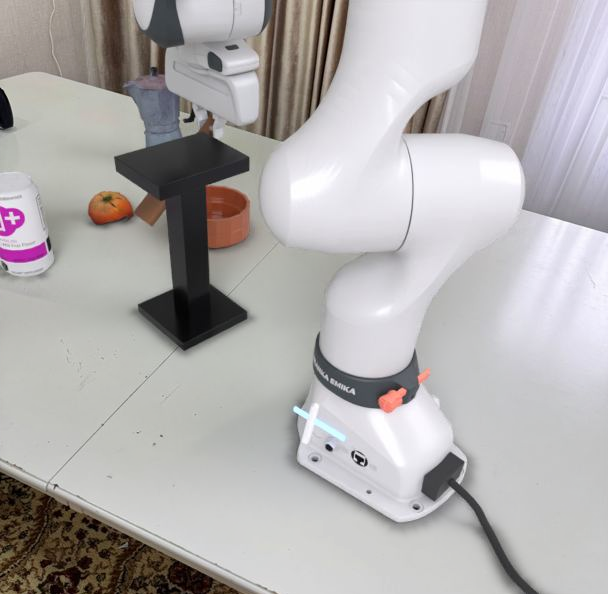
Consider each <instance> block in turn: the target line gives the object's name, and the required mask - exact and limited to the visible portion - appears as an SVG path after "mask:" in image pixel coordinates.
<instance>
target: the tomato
mask: <svg viewBox="0 0 608 594" xmlns="http://www.w3.org/2000/svg"><path fill="white" fill-rule="evenodd" d="M87 207H88V208H87V213H88V214H87V215H88V216H89V218H90V219H91V221H92V222H93V223H94V224H95V225H96V226H98V225H103V224H106V223H109V222H116V221H119V220H120V219H123V218H124V217H128V218H127V220H126V222H128V221H129V220H131V219H132V217H133V216H134V213H133V212H134V209H133V205H132V203H131V201H130V200H129V199H128V198H127V196H125V195H124V194H122V193H121V192H119V191H114V190H113V191H112V190H108V191H106V190H103V191H100V192H98V193H96V194H95V195H94V196H92V198H91V199H90V201H89V203H88V206H87Z"/></svg>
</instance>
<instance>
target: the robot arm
mask: <svg viewBox="0 0 608 594" xmlns="http://www.w3.org/2000/svg"><path fill="white" fill-rule="evenodd" d="M131 3H132V4H131V5H132V11H133V16H134V19H135V22H136V25H137V27H138V28H139V30H140V31H141V32H142V33H143V34H144V35H145V36H146V37H147V38H148V39H150V40H151V41H152V42H153V43H154V44H156V45H157V46H159V47H161V48H162V49H166V50H165V53H164V54H165V56H164V75H165V82H166V85H167V87H168V90H169V91H171V92H173V93H175V94H177V95H179V96H180V98H183V99H185V100H186V101H188V102H191V109H192V108H193V111H194V113H195V119H196V120H197V129H198V131H199V130H200V129H201V127H202V126H203V125H204V123H205V122H206V121H207V119H208V118H209V114H208V112H210V113H211V114H212V113H213V119H215V121H214V124H213V126H209V128H210V136H212V137H214V138H216V139H218V140H219V139H220V140H221V139H222V138H223V137H224V135H225V133H224V128H225V125H226V124H227V122H229V123H231V124H233V125H235V126H237V127H245V126H247V125H251V124H254V123H255V122H256V121H257V119H258V117H259V113H260V83H259V82H260V81H259V78H258V75H257V73H256V71H255V70H257V69H258V68H259V67H260V56H259V54H258V53H257V51H255V50H254V49H253V48H252V46H250V45H249V44H248V43H247V42H246V41H245V40H244V39H251V38H254V37H259V36H260V35H261V34H262V33H263V31H265V29H266V28H267V26H268V24H269V23H270V20H271V17H272V13H273V8H274V7H273V6H274V0H131ZM487 5H488V0H348V8H347V16H346V23H345V30H344V35H343V43H342V48H341V53H340V58H339V62H338V65H337V67H336V70H335V73H334V76H333V77H332V81H331V83H330V84H329V87H328V89H327V90H326V93H325V94H324V96H323V98H322V100H321V101H320V103H319V104H318V106H317V107H316V109H314V111H313V113H311V115H310V116H309V118H308V119H307V120H306V121H305V122H304V123H303V124H302V125H301V126H300V127H299V128H298V129H297V130H296V131H295V132H294V133H292V134H291V135H290V136H288V137H286V139H285V140H283V141H282V142H279V144H278V145H277V146H276V147H275V148H274V149H273V151H272V152H271V153H270V155H269V156H268V157H267V160H266V161H265V163H264V164H263V167H262V170H261V173H260V177H259V181H258V188H257V189H258V190H257V198H258V199H257V200H258V206H259V210H260V214H261V217H262V219H263V223H264V224H265V226H266V228H267V230H268V231H269V233H270V234H271V235H272V237H274V239H275V240H276V241H277V242H278V243H279V244H281V245H282V246H283V247H285V248H290V249H296V250H300V251H301V250H302V251H307V252H313V253H320V254H327V255H334V254H335V255H336V254H356V253H359V254H360V253H363V254H361V255H359V256H357V257H355V258H354V259H352V260H350V261H349V262H346V263H345V264H343V265H342V266H341V267H340V268H339V269H338V270H337V271H335V272H334V274H333V275H332V277H331V278H330V280H329V281H328V283H327V285H326V287H325V289H324V293H323V301H322V311H321V319H320V328H319V331H318V333H317V335H316V337H315V343H314V347H313V353H312V369H313V375H312V380H311V384H310V387H309V390H308V394H307V397H306V398H305V401H304V403H303V405H302V406H301V408H299V407H298V406H296V405H295V406H294V407H293V412H294V413H296V414H298V416H297V420H296V421H297V424H296V425H297V431H298V432H297V433H298V436H299V445H298V448H297V452H296V461H297V463H298V464H300V465H301V466H302V467H304V468H306V469H307V470H309V471H310V472H312V473H313V474H316V475H317V476H319V477H320V478H322V479H324V480H326V481H327V482H329V483H330V484H332V485H334V486H336V487H338V488H339V489H340V490H342V491H344V492H345V493H347V494H348V495H350V496H352V497H354V498H355V499H356V500H359V501H361V502H362V503H364V504H365V505H367V506H369V507H370V508H372V509H374V510H375V511H377V512H378V513H380V514H381V515H383V516H385V517H387V518H388V519H390V520H391V521H393V522H396V523H407V522H412V521H416V520H419V519H421V518H423V517H426V516H428V515H429V514H431V513H433V512H434V511H435V510H437V509H438V508H440V506H442V505H443V504H445V502H447V500H449V498H451V497H452V495H454V493H457V494H458V495H459V496H460V497H461V498H462V499H463V500H464V501H465V502H466V503H467V504H468V505H469V506H470V508H471V510H473V512H474V514H475V515H476V517H477V519H478V522H479V524H480V526H481V527H482V529H483V531H484V532H485V533H484V534H485V535H486V536H487V539H488V540H489V543H490V544H491V546H492V549H493V550H494V553H495V555H496V557H497V558H498V561H499V562H500V564H501V565H502V567H503V569H504V571H505V572H506V573H507V575H508V577H510V578H511V580H512V581H513V582H514V583H515V584H516V585H517V586H518V588H520V589H521V590H522V592H524V593H525V594H540V593H539V592H538V591H537V590H535V589H534V588H533V587H532V586H531V585H530V584H528V583H527V581H525V579H523V577H522V576H521V575H520V573H518V571H517V570H516V569H515V567H514V566H513V565H512V563H511V561H510V559H509V558H508V556H507V555H506V553H505V551H504V548H503V546H502V544H501V542H500V541H499V538H498V537H497V535H496V533H495V531H494V530H493V527H492V526H491V524H490V522H489V520H488V518H487V516H486V514H485V512H484V510H483V508H482V507H481V505H480V504H479V503H478V502H477V500H476V498H474V497H473V496H472V495H471V494H470V493H469V492H468V491H467V490H466V489H465V487H463V486H462V485H461V483H462V482H463V480H464V477H465V474H466V471H467V465H468V457H467V456H466V454H465V453H464V452H463V451H462V450H461V449H460V448H459V447H458V446H457V445H456V444H455V443H454V439H455V437H454V436H455V435H454V430H453V426H452V424H451V422H450V421H449V419H448V418H447V416H446V415H445V414H444V413H443V411H442V410H441V401H440V399H439V397H438V396H437V395H436V394H434V393H430V392H429V391H428V389H427V388H426V386H425V385H424V383H423V382H425V381H426V380H427V379H428V377H429V376H430V372H431V370H432V369H431V368H430V367H429V368H427V369H426V370H424V371H423V372H421V373H420V367H419V360H418V355H417V350H416V344H417V341H418V337H419V334H420V330H421V328H422V324H423V321H424V318H425V315H426V312H427V310H428V308H429V306H430V304H431V302H432V301H433V299H434V297H435V296H436V294H437V293H438V292H439V290H440V289H441V287H442V286H443V285H444V284H445V283H446V282H447V280H448V279H449V278H450V277H451V276H452V275H453V274H454V273H455V272H456V271H457V270H458V269H459V268H460V267H461V266H462V265H463V264H464V263H465V262H466V261H468V260H469V259H470V258H471V257H473V256H474V255H475V254H476V253H478V252H479V251H481V250H482V249H484V248H485V247H486V246H489V245H490V244H492V243H494V242H496V241H498V240H500V239H502V238H503V237H504V236H506V235H507V234H508V233H509V231H511V229H512V228H513V227H514V225H515V223H516V222H517V220H518V218H519V216H520V214H521V212H522V209H523V206H524V203H525V202H524V201H525V198H526V177H525V172H524V169H523V166H522V164H521V161H520V159H519V157H518V155H517V154H516V152H515V151H514V150H513V148H512V147H511V146H510V145H508V143H505V142H501V141H499V140H494V139H490V138H487V137H481V136H476V135H472V134H467V133H461V132H460V133H459V132H452V133H451V132H449V133H447V132H446V133H445V132H444V133H439V132H437V133H433V132H431V133H429V132H427V133H425V132H424V133H404V130H405V129H406V127H407V125H408V123H409V121H410V120H411V118H413V116H414V114H415V113H416V112H418V110H419V109H420V108H421V107H422V106H423V105H424V104H425V103H427V102H428V101H430V100H431V99H433V98H435V97H436V96H439V95H441V94H442V93H445V92H447V91H448V90H450V89H452V88H453V87H455V86H456V85H457V84H459V83H460V82H461V81H462V80H463V79H464V78H465V77H466V75H467V74H468V73H469V72H470V70H471V68H472V67H473V65H474V64H475V61H476V59H477V57H478V54H479V49H480V43H481V39H482V38H481V37H482V32H483V27H484V22H485V15H486V11H487ZM415 508H416V509H415Z"/></svg>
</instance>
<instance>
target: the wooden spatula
mask: <svg viewBox="0 0 608 594" xmlns="http://www.w3.org/2000/svg"><path fill="white" fill-rule="evenodd" d="M214 121H215V119H213V113H212V112H211V114H210V115H209V116H208V119H207V121H206V122H205V123H204V125H203V126H202V127H201V129H200V130H199V129H198V131H197V133H200V132H205V133H207V134H209V135H210V128H209V126H213V124H214ZM164 212H166V206H165V200H163V201H159V200H158V199H156V198H155V197H153V196H152V195H150V194H149V193H147V194H146V195H145V196H144V197H143V199H142V200H141V202H140V203H139V204H138V205H137V207H136V208H135V209H134V210H133V215H134V216H137V217H138V219H140V220H142V221H143V222H144V223H146V224H147V225H148V226H149V227H154V225H155V224H156V222H157V221H158V220H159V219H160V218H161V216H162V215H163V213H164Z"/></svg>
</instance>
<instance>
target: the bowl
mask: <svg viewBox="0 0 608 594" xmlns="http://www.w3.org/2000/svg"><path fill="white" fill-rule="evenodd" d="M206 203H207V227H208V249H209V248H212V249H213V248H214V249H218V248H226V247H231V246H234V245H236V244H238V243H241V242H243V241H244V240H245V239H246V238H247V237H248V236H249V234H250V229H251V201H250V199H249V197H248V196H247V194H245V193H243V192H242V191H240V190H238V189H236V188H233V187H230V186H225V185H214V184H210V185H207V186H206Z"/></svg>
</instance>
